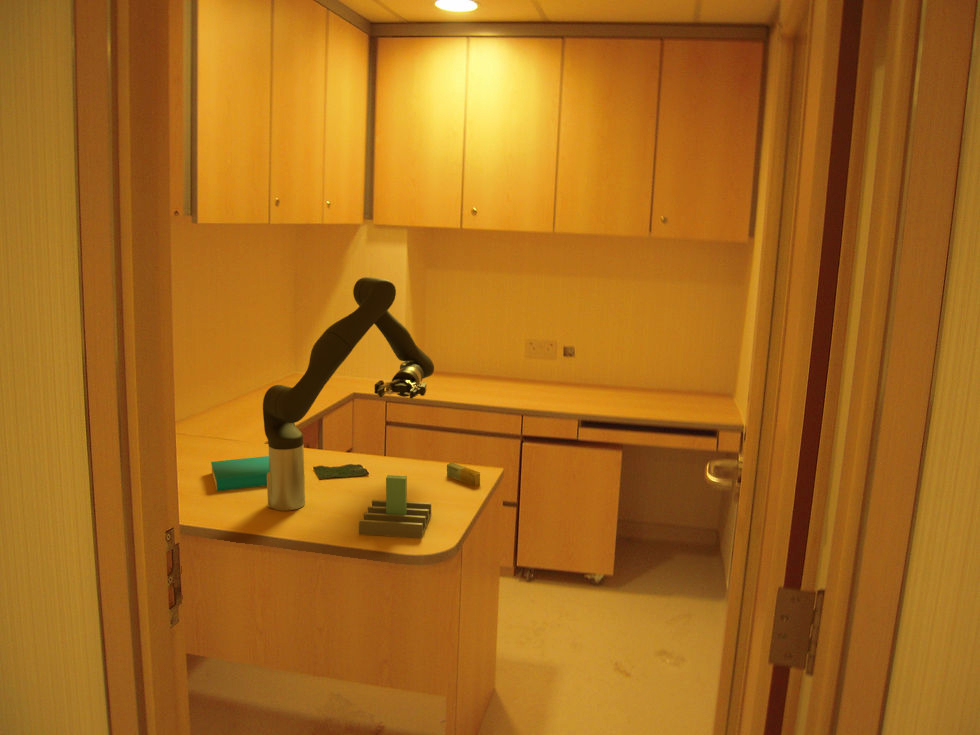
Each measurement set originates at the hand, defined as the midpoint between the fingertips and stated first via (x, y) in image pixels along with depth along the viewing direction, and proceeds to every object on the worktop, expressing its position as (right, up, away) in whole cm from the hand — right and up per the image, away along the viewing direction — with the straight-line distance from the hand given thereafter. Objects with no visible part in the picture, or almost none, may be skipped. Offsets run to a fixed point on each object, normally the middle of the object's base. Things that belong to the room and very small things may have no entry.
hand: (395, 394), depth 228 cm
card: (+2, -32, -13) cm, 35 cm away
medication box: (+18, -27, +21) cm, 39 cm away
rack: (+2, -33, -13) cm, 36 cm away
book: (-44, -26, +20) cm, 55 cm away
